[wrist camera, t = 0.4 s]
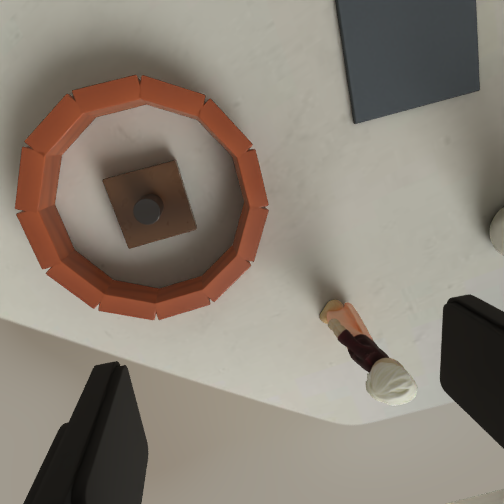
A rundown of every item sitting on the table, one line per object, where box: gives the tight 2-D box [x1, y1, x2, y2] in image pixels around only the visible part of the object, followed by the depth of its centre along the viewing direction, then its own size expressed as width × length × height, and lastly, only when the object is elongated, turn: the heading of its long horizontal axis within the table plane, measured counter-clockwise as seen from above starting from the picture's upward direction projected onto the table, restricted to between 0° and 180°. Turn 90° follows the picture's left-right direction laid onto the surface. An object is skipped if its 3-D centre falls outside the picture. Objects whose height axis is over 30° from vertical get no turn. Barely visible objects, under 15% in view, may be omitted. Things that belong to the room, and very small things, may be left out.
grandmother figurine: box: [320, 300, 418, 406], centre depth 31 cm, size 8×4×13 cm, turn 57°
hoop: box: [15, 75, 269, 320], centre depth 29 cm, size 19×19×3 cm
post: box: [103, 160, 197, 249], centre depth 29 cm, size 6×6×4 cm
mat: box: [335, 0, 480, 124], centre depth 30 cm, size 14×12×1 cm
